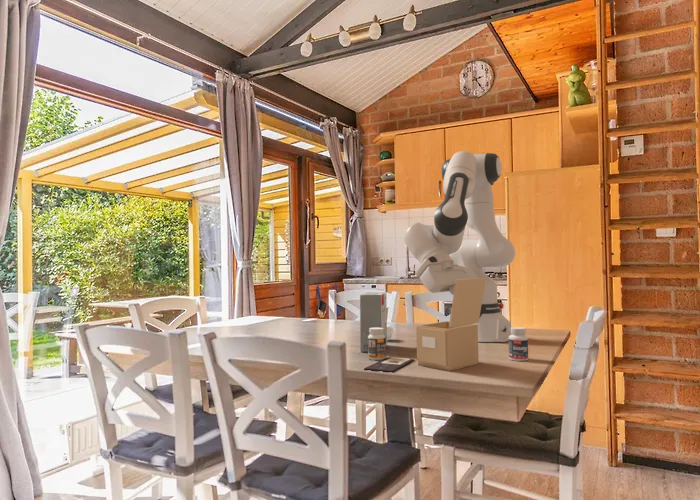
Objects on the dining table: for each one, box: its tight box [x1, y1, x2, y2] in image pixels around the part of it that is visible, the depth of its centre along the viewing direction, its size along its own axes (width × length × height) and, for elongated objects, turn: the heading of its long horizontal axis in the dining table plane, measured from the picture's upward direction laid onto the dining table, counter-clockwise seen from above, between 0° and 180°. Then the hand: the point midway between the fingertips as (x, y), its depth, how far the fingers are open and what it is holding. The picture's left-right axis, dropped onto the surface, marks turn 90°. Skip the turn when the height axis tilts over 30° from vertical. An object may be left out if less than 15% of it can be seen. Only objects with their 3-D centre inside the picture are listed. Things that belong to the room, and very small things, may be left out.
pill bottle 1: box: [367, 327, 387, 361], centre depth 171 cm, size 6×6×10 cm
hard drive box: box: [359, 291, 388, 353], centre depth 190 cm, size 16×8×20 cm, turn 168°
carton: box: [415, 320, 480, 372], centre depth 161 cm, size 15×12×12 cm
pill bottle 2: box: [508, 326, 529, 362], centre depth 166 cm, size 6×6×10 cm
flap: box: [449, 278, 486, 328], centre depth 155 cm, size 14×1×14 cm, turn 131°
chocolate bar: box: [363, 356, 415, 374], centre depth 161 cm, size 9×1×18 cm
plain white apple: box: [387, 324, 394, 342], centre depth 207 cm, size 7×7×8 cm
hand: (465, 299), depth 155 cm, fingers closed, pressing on flap
